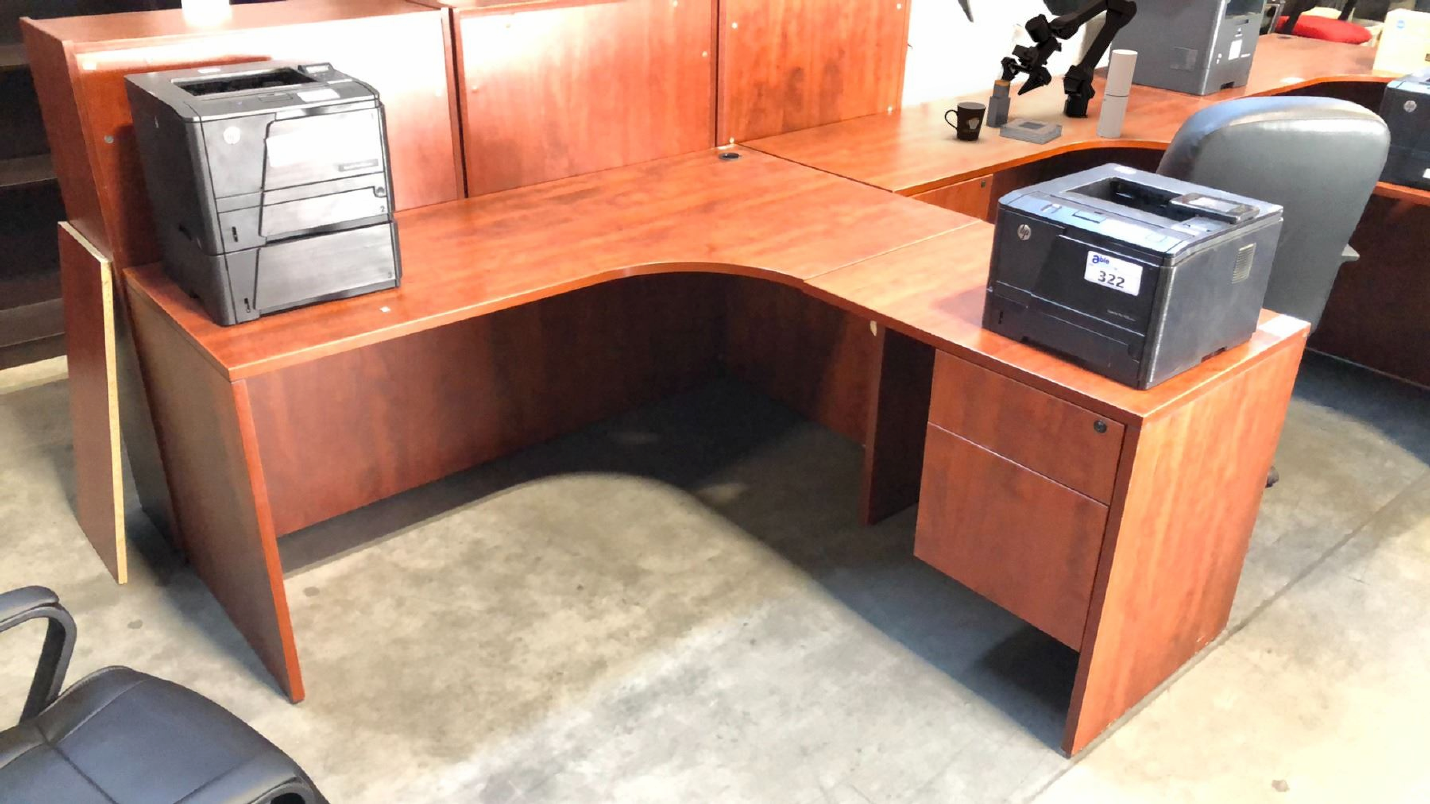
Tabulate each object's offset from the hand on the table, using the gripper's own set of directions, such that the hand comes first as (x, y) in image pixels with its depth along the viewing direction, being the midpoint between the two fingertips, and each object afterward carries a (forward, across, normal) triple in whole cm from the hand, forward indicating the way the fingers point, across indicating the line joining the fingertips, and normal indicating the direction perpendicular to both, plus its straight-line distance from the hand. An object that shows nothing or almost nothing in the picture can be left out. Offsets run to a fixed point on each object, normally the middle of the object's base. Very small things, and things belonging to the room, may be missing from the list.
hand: (1008, 91), depth 328 cm
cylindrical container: (-8, +23, +23) cm, 34 cm away
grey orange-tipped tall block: (+9, 0, +5) cm, 11 cm away
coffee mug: (+23, +7, -8) cm, 26 cm away
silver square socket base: (+8, +13, +7) cm, 17 cm away
